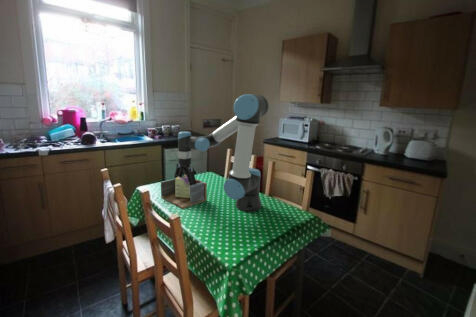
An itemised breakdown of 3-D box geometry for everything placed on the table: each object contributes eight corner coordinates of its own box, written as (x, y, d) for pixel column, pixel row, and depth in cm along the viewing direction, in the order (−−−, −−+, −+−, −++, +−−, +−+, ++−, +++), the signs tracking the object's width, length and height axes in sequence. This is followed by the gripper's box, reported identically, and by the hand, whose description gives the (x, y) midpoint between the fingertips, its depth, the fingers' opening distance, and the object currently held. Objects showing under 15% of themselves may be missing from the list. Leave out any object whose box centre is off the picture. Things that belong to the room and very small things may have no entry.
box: (194, 195, 160) (194, 177, 157) (191, 198, 154) (191, 180, 151) (178, 193, 160) (178, 175, 158) (175, 197, 155) (174, 178, 152)
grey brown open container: (206, 200, 157) (206, 181, 154) (182, 208, 143) (182, 188, 141) (185, 190, 171) (184, 173, 168) (161, 197, 158) (160, 178, 155)
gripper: (202, 160, 146) (202, 195, 152) (178, 153, 162) (178, 185, 167) (192, 162, 141) (192, 199, 146) (168, 154, 156) (168, 188, 161)
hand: (185, 191), depth 157 cm, fingers closed on box, 11 cm apart
